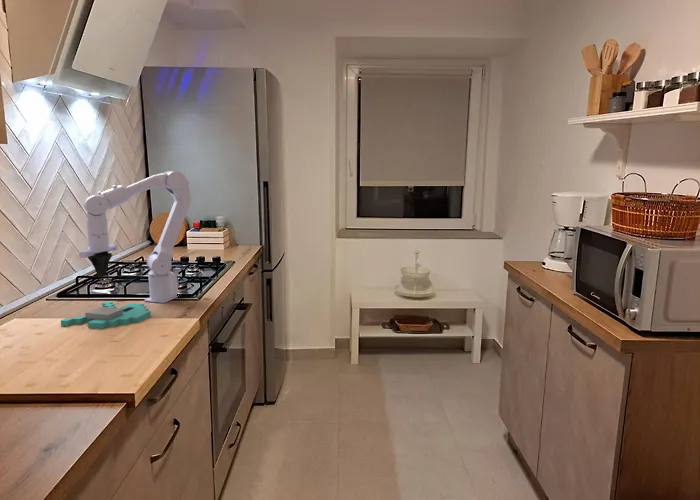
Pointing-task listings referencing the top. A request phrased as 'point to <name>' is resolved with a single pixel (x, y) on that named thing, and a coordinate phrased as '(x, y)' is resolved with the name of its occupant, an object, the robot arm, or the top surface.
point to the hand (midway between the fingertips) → (101, 276)
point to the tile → (104, 313)
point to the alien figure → (130, 315)
